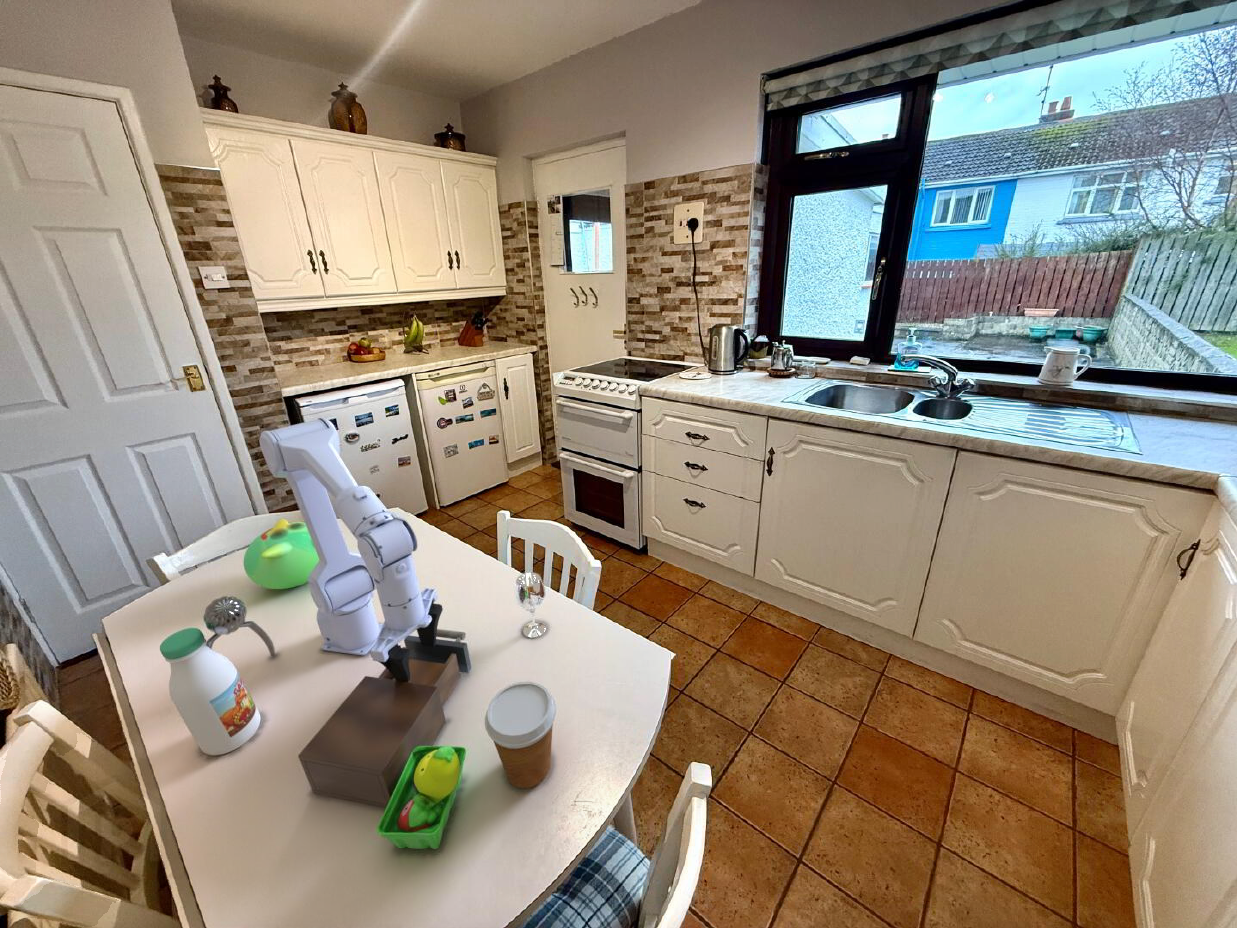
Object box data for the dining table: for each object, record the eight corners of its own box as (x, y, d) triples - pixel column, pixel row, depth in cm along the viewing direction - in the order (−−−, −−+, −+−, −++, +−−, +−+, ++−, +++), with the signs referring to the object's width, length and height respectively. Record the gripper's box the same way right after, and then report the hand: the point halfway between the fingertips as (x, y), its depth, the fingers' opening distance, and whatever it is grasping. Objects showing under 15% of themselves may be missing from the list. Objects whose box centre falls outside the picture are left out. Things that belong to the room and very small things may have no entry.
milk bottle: (215, 766, 71) (155, 669, 63) (193, 741, 75) (134, 646, 66) (271, 725, 77) (224, 631, 68) (248, 703, 81) (200, 611, 72)
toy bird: (324, 550, 125) (308, 500, 119) (358, 572, 115) (343, 518, 110) (243, 587, 111) (221, 531, 106) (274, 614, 102) (252, 556, 96)
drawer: (426, 643, 92) (420, 619, 90) (482, 650, 90) (477, 625, 88) (368, 718, 77) (360, 692, 75) (434, 729, 75) (427, 702, 73)
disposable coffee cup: (502, 812, 64) (490, 750, 59) (489, 751, 72) (478, 692, 67) (570, 783, 68) (564, 721, 63) (551, 727, 76) (544, 669, 71)
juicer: (275, 655, 91) (280, 609, 71) (201, 691, 84) (182, 651, 63) (254, 610, 93) (253, 552, 72) (180, 641, 85) (154, 586, 65)
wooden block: (394, 695, 80) (390, 681, 79) (411, 671, 84) (408, 658, 83) (435, 701, 78) (432, 687, 77) (451, 677, 83) (448, 664, 82)
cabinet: (376, 710, 79) (365, 675, 76) (446, 721, 77) (438, 686, 74) (313, 793, 67) (297, 755, 64) (394, 809, 65) (382, 771, 62)
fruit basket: (420, 769, 70) (405, 713, 66) (481, 770, 70) (469, 713, 65) (383, 859, 59) (361, 800, 55) (454, 860, 59) (438, 801, 55)
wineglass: (543, 641, 93) (537, 590, 88) (515, 638, 94) (507, 587, 89) (552, 621, 98) (547, 572, 93) (526, 618, 99) (519, 569, 94)
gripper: (394, 630, 67) (413, 702, 72) (448, 569, 80) (460, 633, 85) (349, 624, 68) (371, 695, 73) (409, 565, 81) (424, 628, 86)
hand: (416, 661), depth 79 cm, fingers open, 7 cm apart
